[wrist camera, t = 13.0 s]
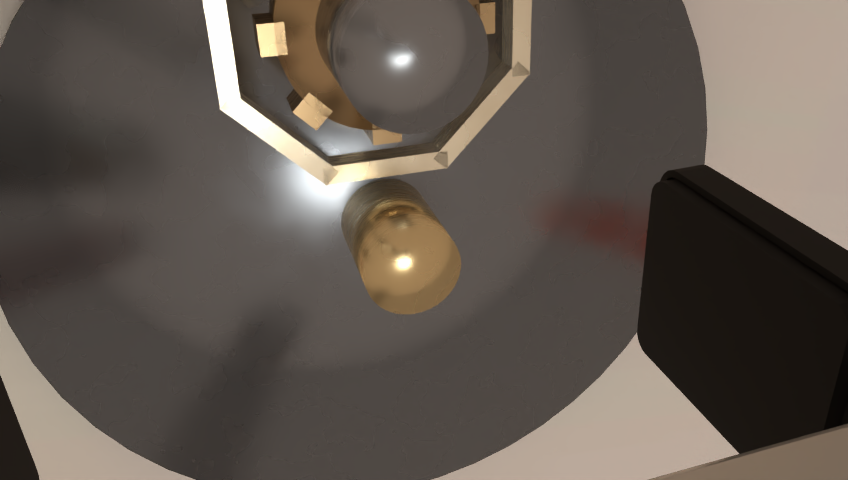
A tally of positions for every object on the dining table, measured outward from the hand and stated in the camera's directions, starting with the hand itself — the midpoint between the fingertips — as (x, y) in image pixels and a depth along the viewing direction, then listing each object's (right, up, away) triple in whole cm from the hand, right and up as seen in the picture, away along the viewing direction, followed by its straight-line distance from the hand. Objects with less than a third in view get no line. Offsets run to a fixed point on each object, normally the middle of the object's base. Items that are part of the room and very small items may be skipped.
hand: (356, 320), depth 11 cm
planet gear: (-1, +10, +20) cm, 23 cm away
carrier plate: (-1, +3, +26) cm, 26 cm away
